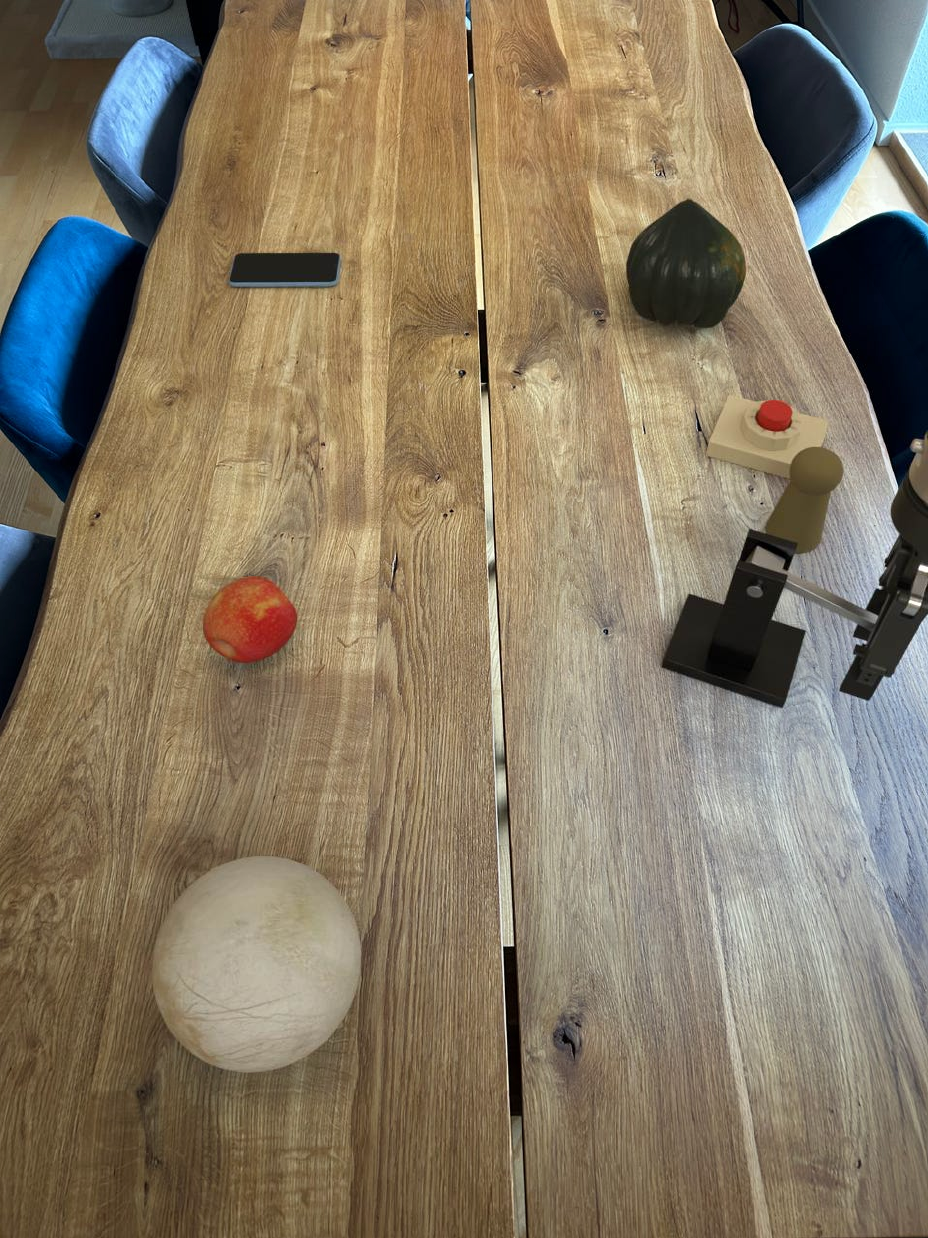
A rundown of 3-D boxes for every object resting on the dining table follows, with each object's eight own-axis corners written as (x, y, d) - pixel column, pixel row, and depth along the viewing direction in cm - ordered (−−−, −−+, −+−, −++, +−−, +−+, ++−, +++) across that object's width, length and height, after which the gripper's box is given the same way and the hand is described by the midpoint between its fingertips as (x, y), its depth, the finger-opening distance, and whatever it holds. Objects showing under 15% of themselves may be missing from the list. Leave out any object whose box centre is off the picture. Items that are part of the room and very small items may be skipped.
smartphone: (234, 251, 142) (341, 251, 142) (235, 257, 142) (341, 256, 142) (226, 282, 137) (337, 281, 137) (227, 288, 138) (337, 287, 138)
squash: (709, 333, 123) (754, 207, 119) (596, 301, 128) (637, 179, 124) (727, 350, 136) (769, 237, 132) (625, 320, 141) (662, 210, 137)
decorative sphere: (405, 1015, 79) (394, 948, 67) (233, 1138, 74) (188, 1089, 62) (309, 868, 87) (283, 784, 75) (147, 970, 82) (92, 897, 70)
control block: (824, 435, 120) (834, 408, 117) (808, 484, 115) (818, 458, 112) (725, 408, 123) (731, 381, 120) (705, 455, 118) (711, 429, 115)
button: (791, 416, 116) (795, 404, 115) (784, 435, 114) (788, 423, 113) (760, 407, 117) (764, 396, 116) (753, 427, 115) (756, 415, 114)
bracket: (802, 639, 102) (846, 540, 90) (782, 708, 97) (825, 613, 85) (686, 602, 104) (713, 501, 93) (660, 667, 99) (686, 570, 88)
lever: (891, 614, 92) (906, 600, 90) (879, 664, 89) (895, 650, 87) (750, 545, 93) (762, 530, 91) (734, 592, 90) (746, 577, 88)
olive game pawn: (822, 517, 112) (851, 442, 103) (821, 557, 108) (851, 483, 99) (766, 508, 113) (791, 433, 104) (763, 547, 109) (789, 473, 100)
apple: (313, 643, 101) (302, 593, 95) (246, 693, 98) (231, 645, 91) (263, 600, 105) (250, 548, 98) (197, 646, 101) (179, 596, 95)
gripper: (924, 398, 82) (840, 580, 100) (884, 561, 72) (799, 732, 90) (1021, 423, 80) (918, 604, 99) (995, 594, 70) (885, 761, 88)
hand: (861, 664), depth 94 cm, fingers closed on lever, 6 cm apart
